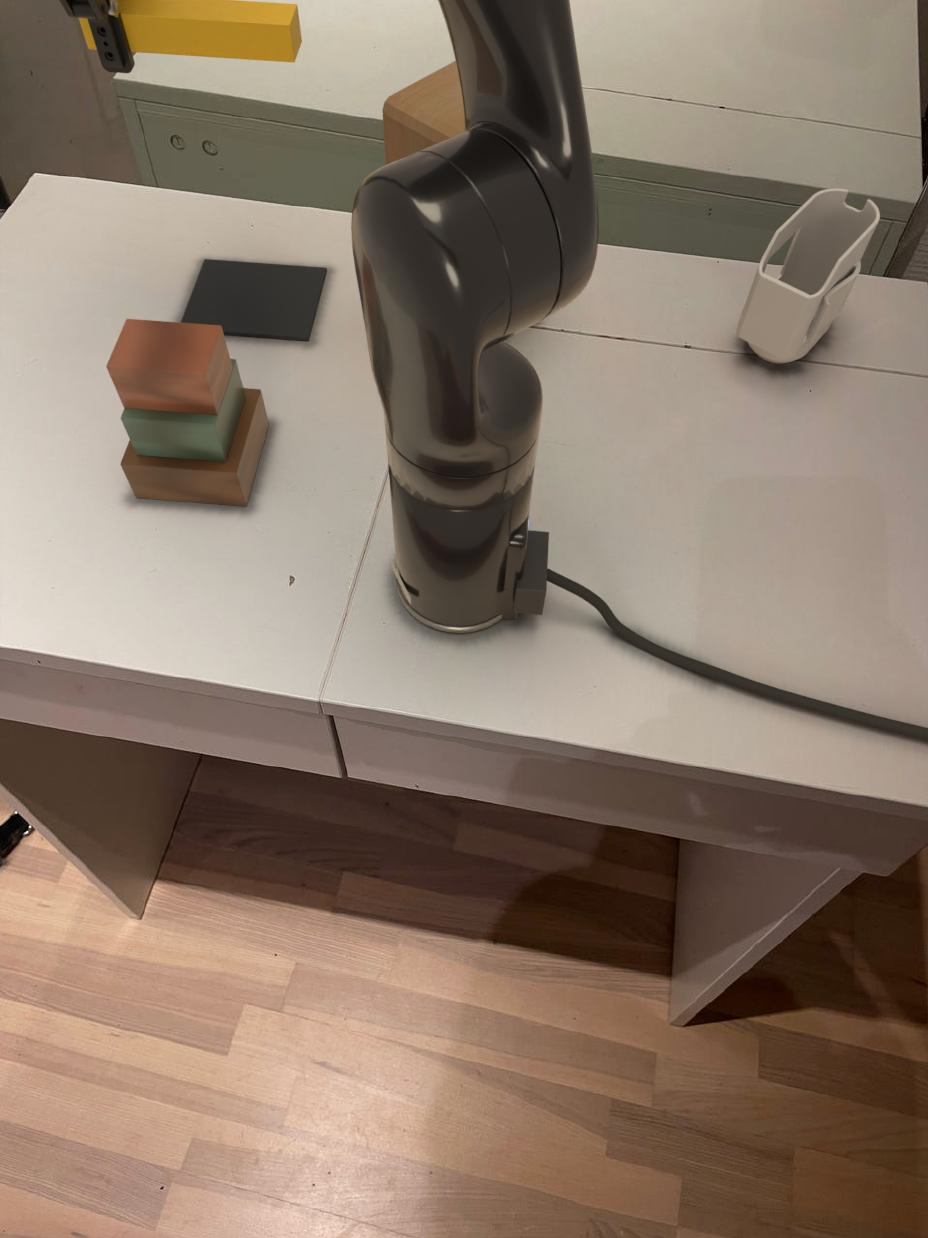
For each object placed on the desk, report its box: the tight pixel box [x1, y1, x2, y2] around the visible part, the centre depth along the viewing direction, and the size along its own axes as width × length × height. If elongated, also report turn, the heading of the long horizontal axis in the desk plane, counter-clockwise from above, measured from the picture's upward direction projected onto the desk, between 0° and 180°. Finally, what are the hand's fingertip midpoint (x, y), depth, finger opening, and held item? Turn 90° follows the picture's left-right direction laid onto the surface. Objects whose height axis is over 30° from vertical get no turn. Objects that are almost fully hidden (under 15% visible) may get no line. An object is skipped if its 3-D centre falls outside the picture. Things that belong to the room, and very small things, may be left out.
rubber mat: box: [180, 258, 328, 342], centre depth 82 cm, size 12×10×1 cm
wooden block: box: [382, 60, 465, 166], centre depth 73 cm, size 10×10×20 cm
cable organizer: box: [735, 188, 881, 364], centre depth 76 cm, size 7×12×12 cm, turn 141°
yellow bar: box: [78, 0, 303, 64], centre depth 62 cm, size 15×3×2 cm, turn 85°
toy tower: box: [105, 318, 270, 507], centre depth 67 cm, size 9×9×12 cm
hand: (126, 55), depth 64 cm, fingers closed on yellow bar, 3 cm apart
